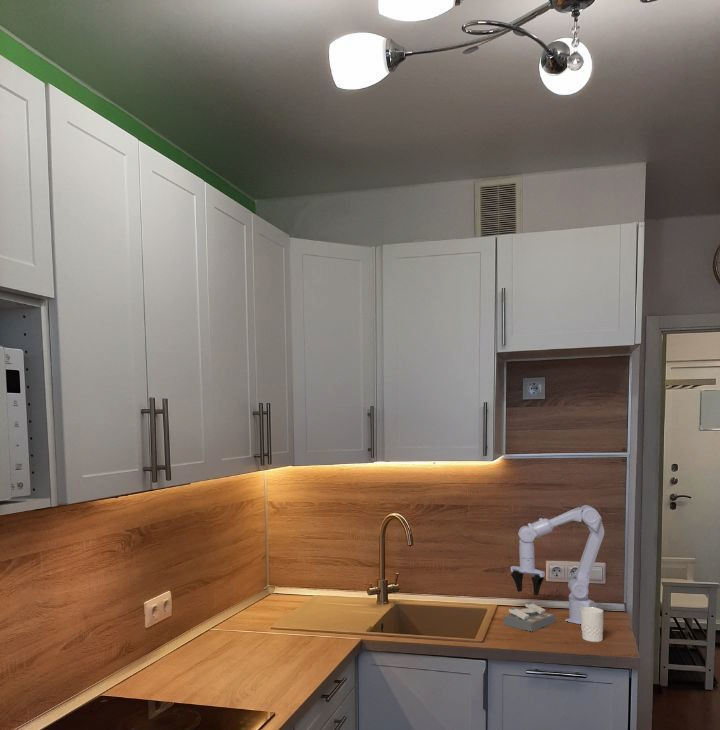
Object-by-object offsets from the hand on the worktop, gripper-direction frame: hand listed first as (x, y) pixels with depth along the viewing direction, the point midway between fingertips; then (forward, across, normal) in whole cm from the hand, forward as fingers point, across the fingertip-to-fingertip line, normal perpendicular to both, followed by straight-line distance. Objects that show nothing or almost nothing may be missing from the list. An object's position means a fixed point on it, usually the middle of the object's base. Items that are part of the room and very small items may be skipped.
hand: (527, 593), depth 255 cm
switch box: (+10, +4, -5) cm, 12 cm away
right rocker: (+5, +3, 0) cm, 6 cm away
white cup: (+10, +29, -4) cm, 31 cm away
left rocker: (+5, +3, -11) cm, 12 cm away
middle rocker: (+5, +3, -5) cm, 8 cm away
